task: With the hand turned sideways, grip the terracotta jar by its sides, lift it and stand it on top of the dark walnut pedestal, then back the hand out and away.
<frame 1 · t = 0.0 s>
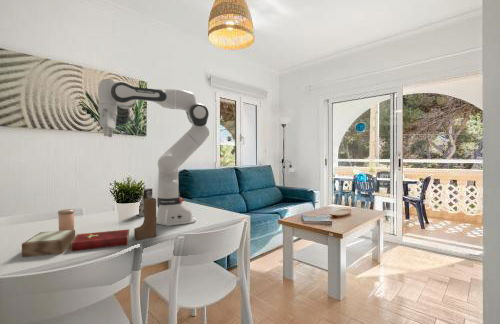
hand: (108, 136, 141), 48 cm above the table, tool pointing down, fingers open, 8 cm apart
coffee box: (144, 214, 168), on the table
walnut pedestal: (50, 248, 109), on the table
wooden block: (145, 237, 124), on the table
terracotta jar: (66, 235, 125), on the table
hardcover book: (102, 244, 115), on the table
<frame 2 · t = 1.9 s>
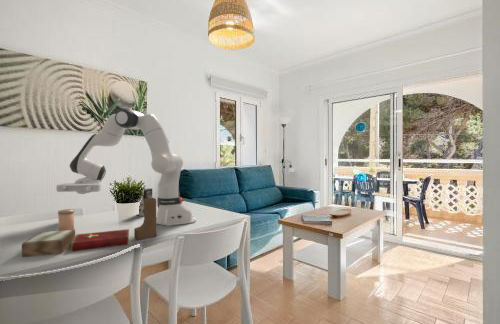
hand: (74, 189, 136), 20 cm above the table, tool horizontal, fingers open, 8 cm apart
nothing on the table moved.
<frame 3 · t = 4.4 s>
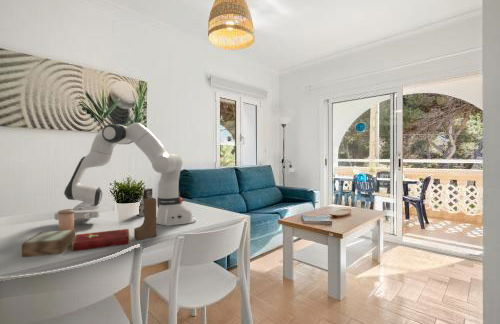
hand: (72, 217, 133), 6 cm above the table, tool horizontal, fingers open, 8 cm apart
nothing on the table moved.
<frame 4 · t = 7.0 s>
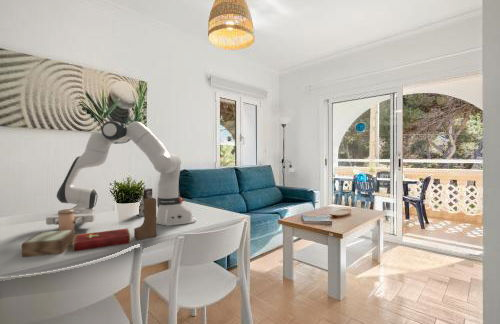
hand: (65, 222, 124), 7 cm above the table, tool horizontal, fingers closed on terracotta jar, 6 cm apart
terracotta jar: (66, 235, 125), on the table, touching gripper
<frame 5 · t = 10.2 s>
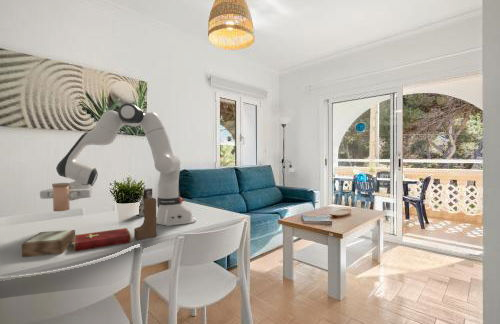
hand: (60, 196, 118), 20 cm above the table, tool horizontal, fingers closed on terracotta jar, 6 cm apart
terracotta jar: (61, 209, 120), point 13 cm above the table, touching gripper
when the fingers open (13 cm above the table, at t = 13.4 s): terracotta jar drops 1 cm, resting on walnut pedestal.
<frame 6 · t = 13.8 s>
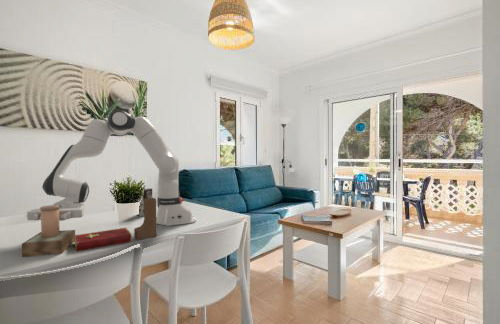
hand: (49, 217, 107), 13 cm above the table, tool horizontal, fingers open, 8 cm apart
terracotta jar: (50, 235, 109), point 5 cm above the table, touching walnut pedestal
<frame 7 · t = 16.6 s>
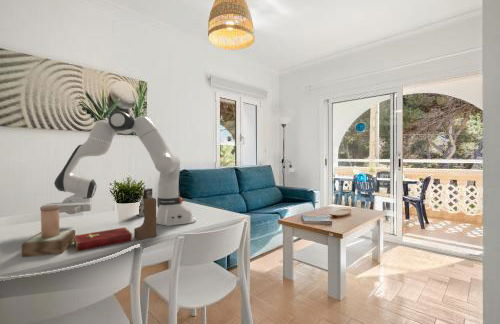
hand: (61, 210, 119), 13 cm above the table, tool horizontal, fingers open, 8 cm apart
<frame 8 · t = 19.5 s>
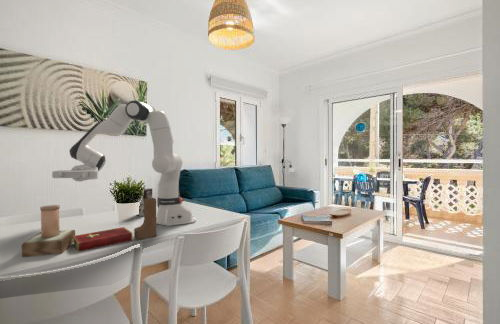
hand: (71, 175, 131), 28 cm above the table, tool horizontal, fingers open, 8 cm apart
at the end: terracotta jar inside the target area on the walnut pedestal (0.0 cm from its centre), point 5.4 cm above the walnut pedestal's base; terracotta jar tilted 1°; the gripper is holding nothing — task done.
